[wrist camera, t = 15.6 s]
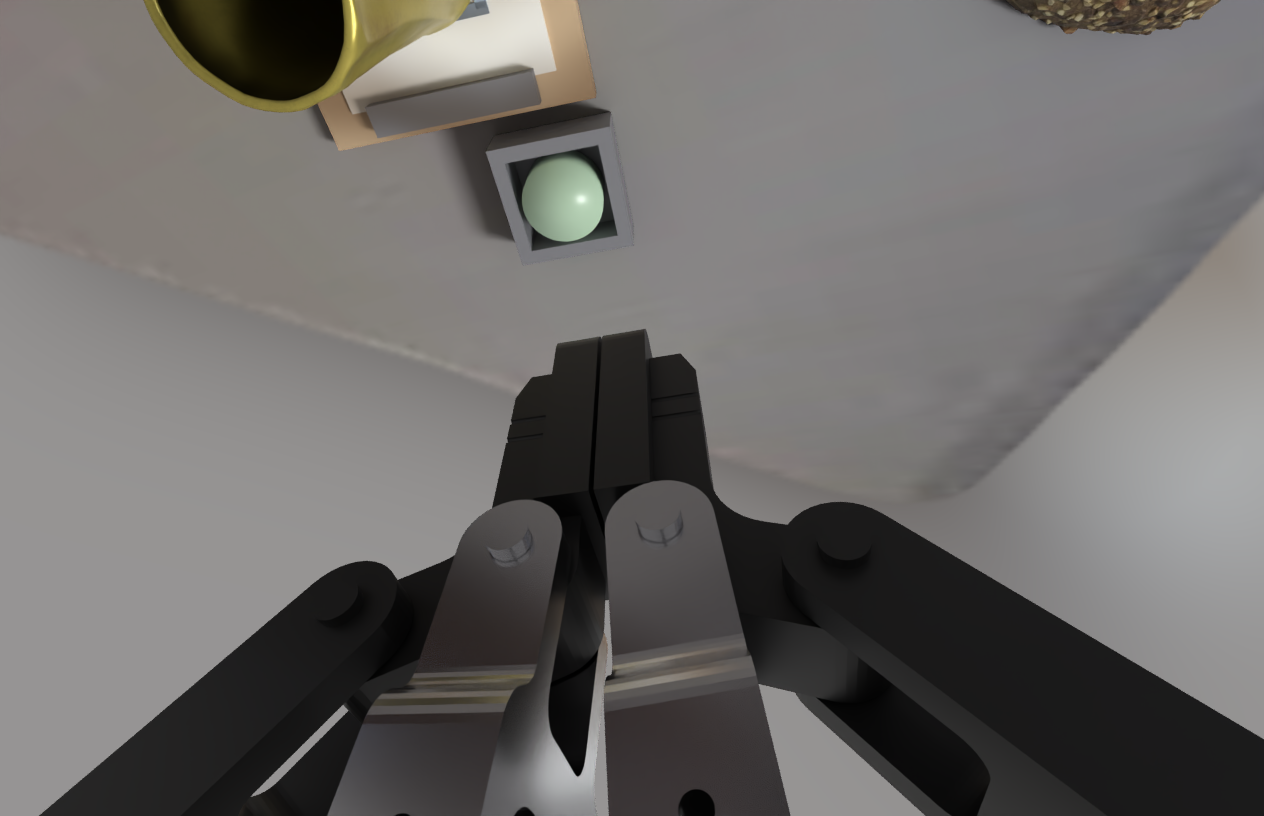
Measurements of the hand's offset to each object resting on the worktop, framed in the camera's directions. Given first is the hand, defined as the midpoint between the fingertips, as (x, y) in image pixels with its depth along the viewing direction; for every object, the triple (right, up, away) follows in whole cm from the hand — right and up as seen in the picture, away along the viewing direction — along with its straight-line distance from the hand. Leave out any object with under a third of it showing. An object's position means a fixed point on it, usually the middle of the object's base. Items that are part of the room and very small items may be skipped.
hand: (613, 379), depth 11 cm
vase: (-9, +19, +16) cm, 26 cm away
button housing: (-3, +11, +23) cm, 26 cm away
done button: (-3, +11, +22) cm, 25 cm away
